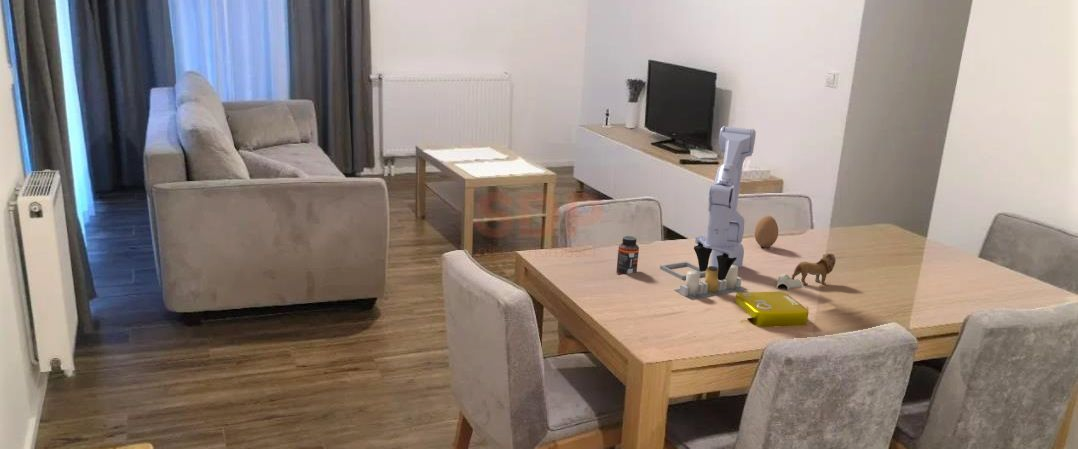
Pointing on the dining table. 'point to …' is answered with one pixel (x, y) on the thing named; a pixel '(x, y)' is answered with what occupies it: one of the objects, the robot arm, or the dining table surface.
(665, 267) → the grey tray
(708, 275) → the cylinder
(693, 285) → the cream fuse
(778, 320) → the element tile
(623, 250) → the supplement bottle
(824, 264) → the lion figurine
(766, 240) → the egg
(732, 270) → the cream fuse
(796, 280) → the pipe fitting
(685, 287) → the fuse block
